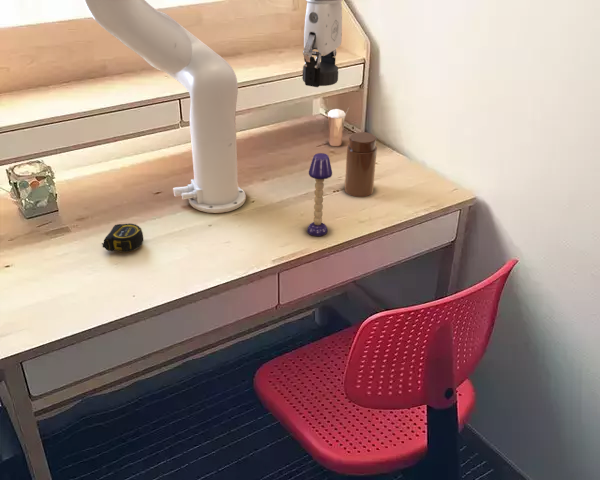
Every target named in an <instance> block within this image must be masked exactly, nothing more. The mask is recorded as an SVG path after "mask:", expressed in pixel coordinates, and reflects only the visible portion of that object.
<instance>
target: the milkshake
mask: <svg viewBox="0 0 600 480" xmlns="http://www.w3.org/2000/svg"><path fill="white" fill-rule="evenodd" d="M349 109H350V107H348V108H347V109H346V110H347V111H346V112H345V111H344V110H343V109H339V108H333V109H330V110H329V111H327V122H328V123H327V125H328V129H327V130H328V144H329V146H332V147H340V146H341V145H342V143H343V135H344V127H345V122H346V121H345V120H346V116H347V113H348V111H349Z"/></svg>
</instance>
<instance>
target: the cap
mask: <svg viewBox="0 0 600 480" xmlns="http://www.w3.org/2000/svg"><path fill="white" fill-rule="evenodd" d="M319 68H321V70H320V86H319V87H327V86H332V85H336V84H338V81H339V67H338V65H336V64H335V65H334V64H331V63H325V62H321V61H320V64H319ZM302 82H304V83H305V64H304V65H303V66H302Z"/></svg>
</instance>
